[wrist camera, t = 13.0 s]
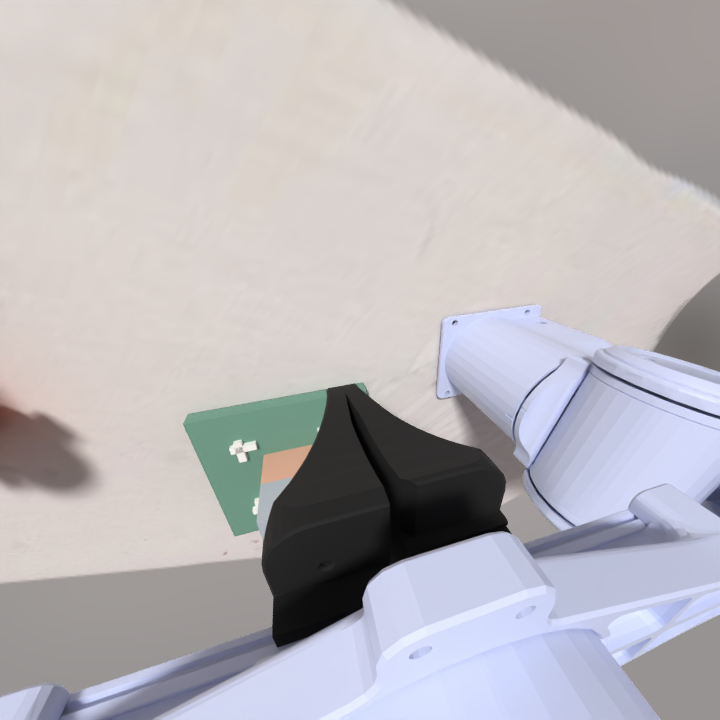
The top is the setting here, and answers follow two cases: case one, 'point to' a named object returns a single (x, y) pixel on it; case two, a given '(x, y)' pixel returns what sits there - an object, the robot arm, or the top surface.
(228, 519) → the base plate
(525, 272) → the top surface
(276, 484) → the brick stack
